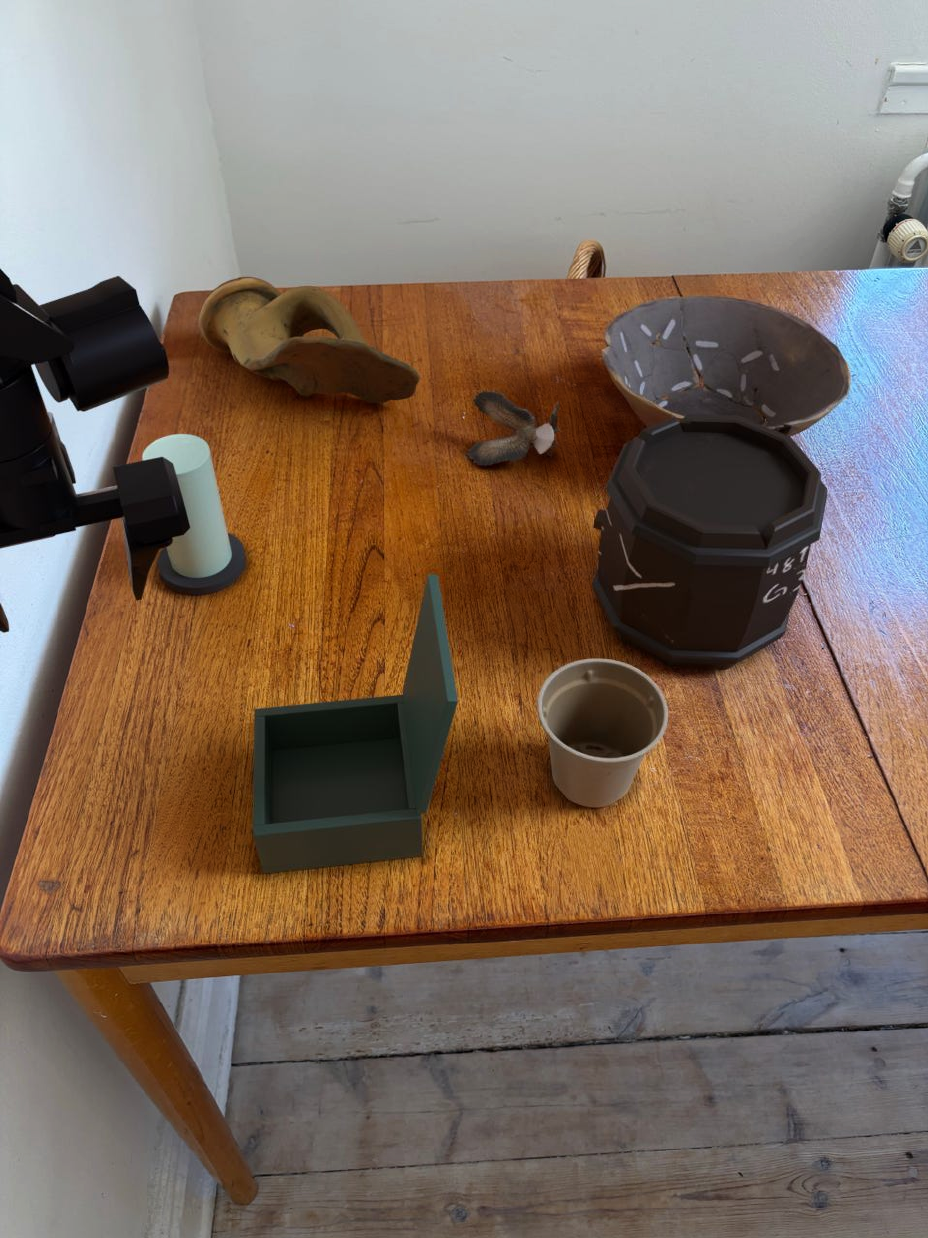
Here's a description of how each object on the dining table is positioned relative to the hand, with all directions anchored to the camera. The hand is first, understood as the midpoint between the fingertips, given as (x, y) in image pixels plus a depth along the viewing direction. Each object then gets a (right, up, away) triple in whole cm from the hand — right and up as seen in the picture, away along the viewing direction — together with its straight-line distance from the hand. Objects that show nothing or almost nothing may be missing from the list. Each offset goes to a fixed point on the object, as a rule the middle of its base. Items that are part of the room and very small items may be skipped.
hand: (73, 611), depth 73 cm
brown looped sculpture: (+11, +26, +42) cm, 51 cm away
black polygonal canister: (+48, +1, +19) cm, 52 cm away
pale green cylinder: (+4, +5, +21) cm, 22 cm away
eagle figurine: (+33, +17, +35) cm, 51 cm away
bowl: (+54, +19, +37) cm, 69 cm away
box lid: (+25, -6, -3) cm, 26 cm away
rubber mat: (+4, +5, +22) cm, 23 cm away
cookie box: (+19, -14, +5) cm, 24 cm away
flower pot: (+38, -13, +7) cm, 41 cm away
